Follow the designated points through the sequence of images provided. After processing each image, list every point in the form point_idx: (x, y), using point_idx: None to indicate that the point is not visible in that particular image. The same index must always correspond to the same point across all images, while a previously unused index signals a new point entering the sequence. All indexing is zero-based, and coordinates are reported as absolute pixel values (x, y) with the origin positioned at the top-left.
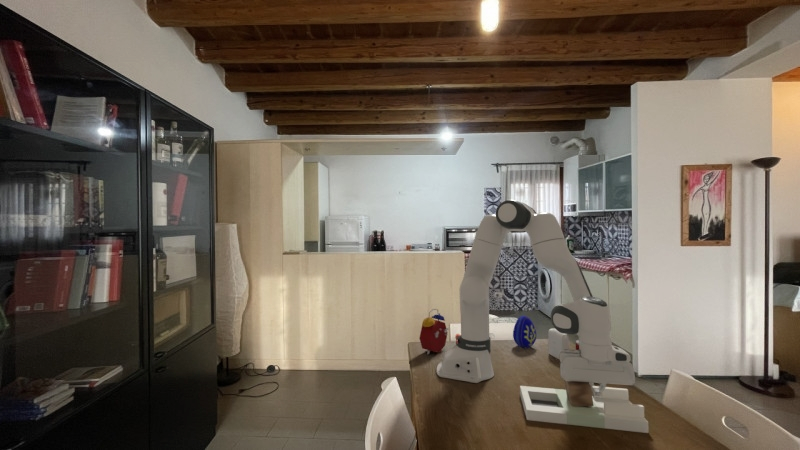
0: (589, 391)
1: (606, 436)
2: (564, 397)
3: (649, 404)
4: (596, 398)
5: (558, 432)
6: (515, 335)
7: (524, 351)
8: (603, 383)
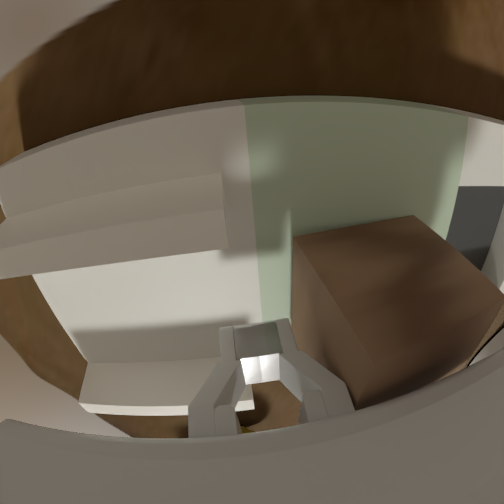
0: (364, 312)
1: (252, 13)
2: None
3: (51, 366)
4: None
5: (468, 39)
6: None
7: None
8: (213, 433)
